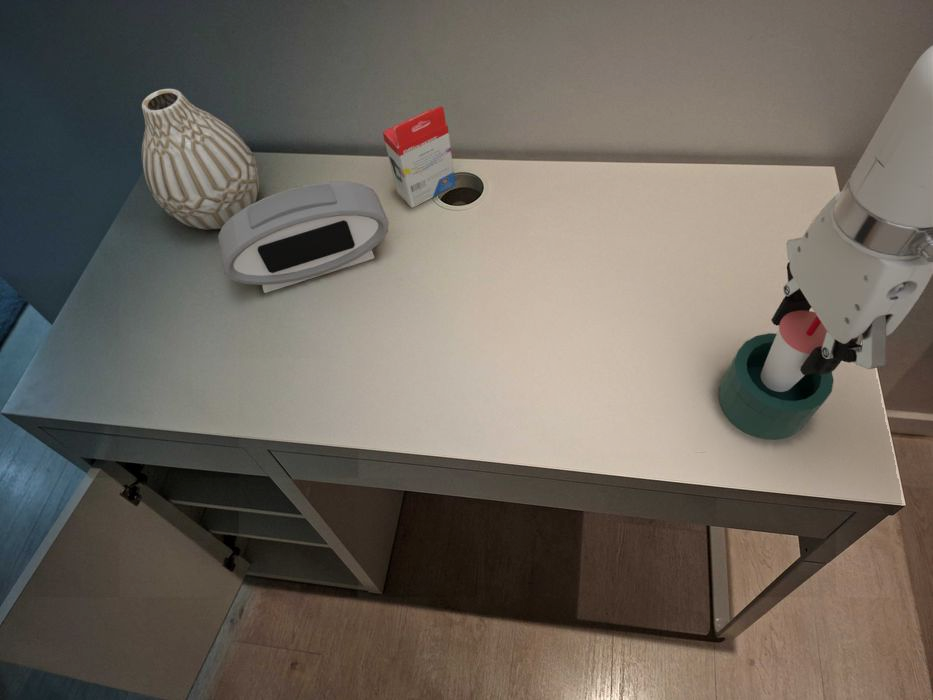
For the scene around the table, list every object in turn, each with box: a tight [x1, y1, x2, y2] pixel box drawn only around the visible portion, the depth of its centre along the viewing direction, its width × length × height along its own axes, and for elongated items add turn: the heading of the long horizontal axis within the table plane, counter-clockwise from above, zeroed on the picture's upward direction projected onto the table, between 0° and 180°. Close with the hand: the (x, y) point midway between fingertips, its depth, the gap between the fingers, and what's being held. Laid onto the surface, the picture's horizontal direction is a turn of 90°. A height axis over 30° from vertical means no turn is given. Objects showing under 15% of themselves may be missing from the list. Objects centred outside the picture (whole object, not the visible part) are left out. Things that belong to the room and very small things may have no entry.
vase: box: [141, 88, 260, 231], centre depth 89 cm, size 16×16×20 cm
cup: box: [761, 310, 827, 392], centre depth 61 cm, size 5×5×12 cm
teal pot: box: [718, 332, 835, 440], centre depth 67 cm, size 10×10×7 cm
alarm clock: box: [217, 181, 389, 294], centre depth 83 cm, size 23×6×13 cm, turn 110°
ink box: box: [382, 105, 456, 209], centre depth 89 cm, size 8×5×15 cm, turn 123°
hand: (801, 343), depth 60 cm, fingers closed on cup, 5 cm apart
